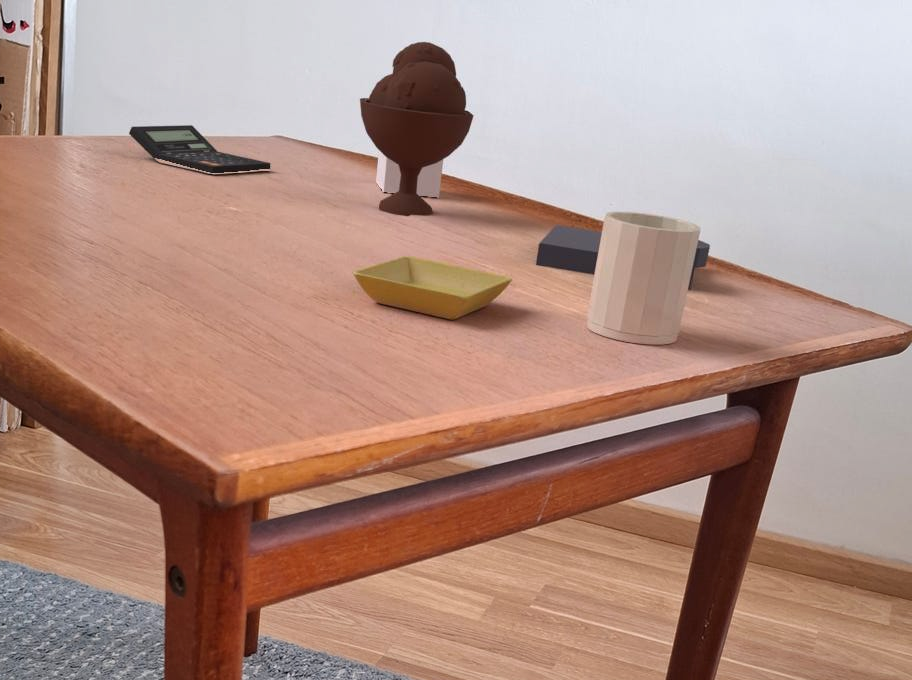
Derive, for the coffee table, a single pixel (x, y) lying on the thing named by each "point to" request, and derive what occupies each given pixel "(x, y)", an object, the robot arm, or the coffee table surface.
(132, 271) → the coffee table surface
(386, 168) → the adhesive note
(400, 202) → the ice cream bowl
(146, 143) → the calculator
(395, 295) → the yellow shallow tray
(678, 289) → the faceted pencil cup
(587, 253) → the scale
